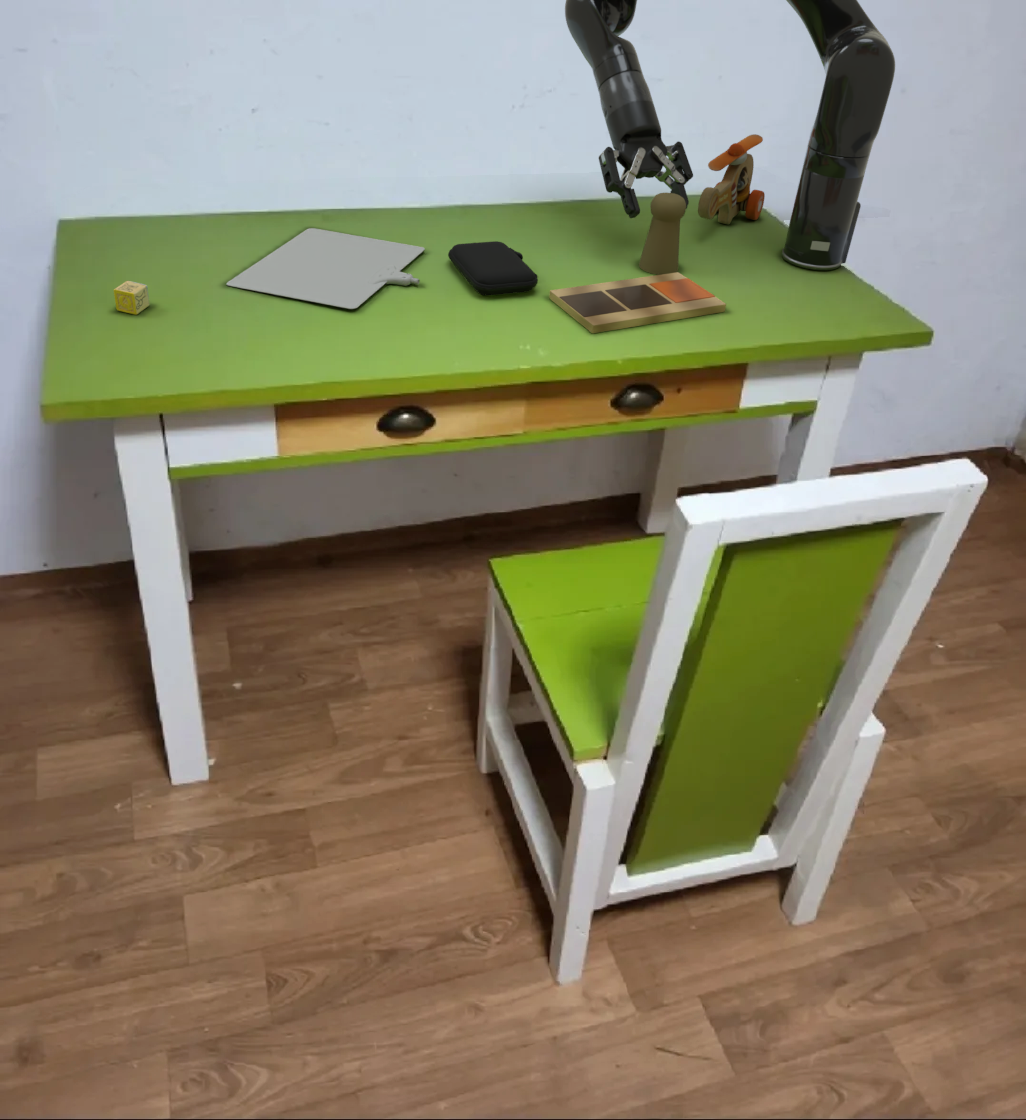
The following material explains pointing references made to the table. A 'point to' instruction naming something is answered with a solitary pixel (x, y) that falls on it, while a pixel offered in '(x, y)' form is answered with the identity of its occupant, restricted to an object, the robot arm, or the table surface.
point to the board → (636, 302)
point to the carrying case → (493, 268)
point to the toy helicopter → (733, 185)
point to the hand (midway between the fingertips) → (659, 213)
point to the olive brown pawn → (663, 235)
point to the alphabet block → (131, 297)
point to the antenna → (330, 268)
